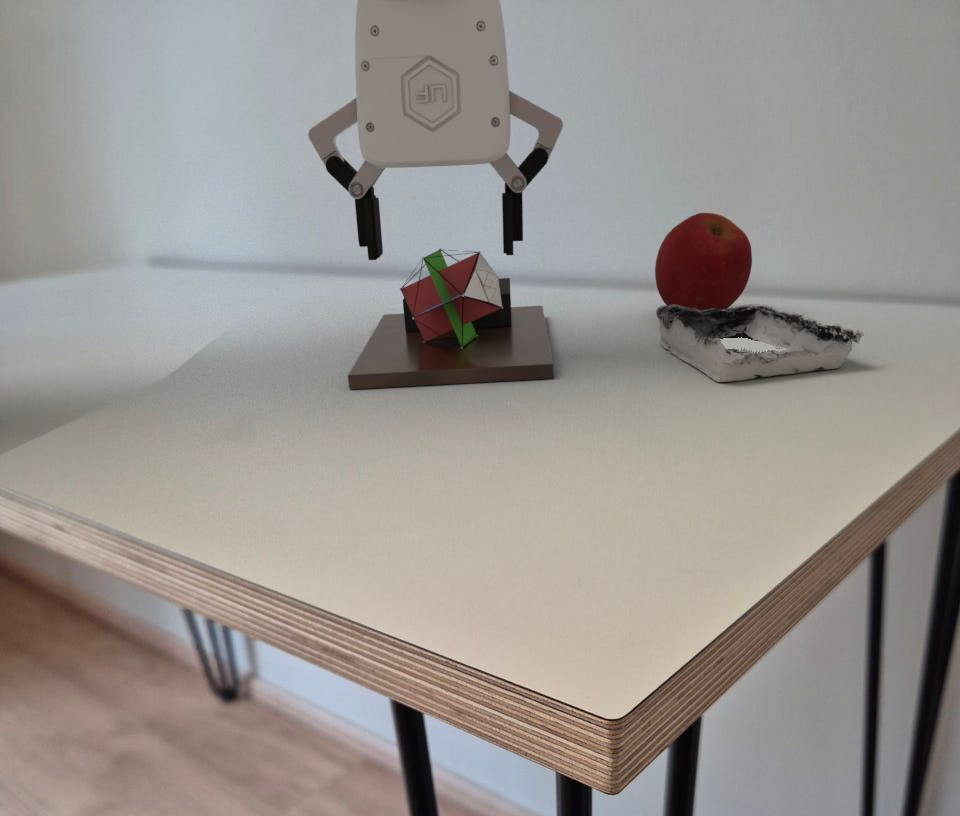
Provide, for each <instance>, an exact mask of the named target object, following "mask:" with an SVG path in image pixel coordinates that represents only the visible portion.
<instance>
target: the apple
mask: <svg viewBox="0 0 960 816" xmlns="http://www.w3.org/2000/svg"><path fill="white" fill-rule="evenodd" d="M752 254H753V253H752V246H751V242H750V239H749V237H748V235H746V232H744V231H743V229H741V228H740V227H739V226H738V225H736V224H735V223H734V222H733V221H732V220H730V219H729V218H728V217H726V216H724V215H721V214H718V213H712V212H698V213H696V214H693V215H691V216H689V217H687V218H685V219H684V220H682V221H681V222H680V223H678V224H677V225H675V226H674V227H673V228H672V229H671V230H670V231H668V233H667V234H666V236H665V237H664V238H663V240H662V243H661V244H660V246H659V249H658V251H657V254H656V258H655V259H656V260H655V266H654V274H655V275H654V278H655V279H654V280H655V284H656V287H657V292H658V295H659V296H660V299H661V300H662V301H663V303H664V304H665V305H666V306H670V305H672V304H674V305H680V306H683V307H686V308H696V309H698V310H701V311H702V310H707V309H711V308H717V309H718V308H719V309H729V308H731V306H732V305H733V304H734V303H736V301H737V300H738V299H739V298H740V297H741V295H742V294H743V293H744V290H746V287H747V284H748V282H749V280H750V276H751V271H752V264H753V255H752Z"/></svg>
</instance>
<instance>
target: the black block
mask: <svg viewBox="0 0 960 816" xmlns="http://www.w3.org/2000/svg"><path fill="white" fill-rule="evenodd" d="M499 286H500V293H501V300H502V307H503V309H501V310H500V309H499V310H500V311H499V310H496V311H494V312H492V313H490V314H487V315H485V316H483V317H480V323H479V318H478V319H476V320H474V321H471V323H472V325H473V328H478V323H479V328H482V327H483V326H484V325H485V324H486V323H487V322H488V321H489V320H490V319H491V318H492V317H493V316H494V315H495V314H496V313H497V312H498V311H499V312H498V313H497V314H496V315H495V316H494V318H493V319H492V320H491V321H490V322H489V323H488V324H487V325H485V326H484V327H483V328H489V327H506V326H511V325H512V324H511V307H512V297H511V295H512V294H511V278H510V277H504V278H503V277H502V278H499ZM402 307H403V308H402V309H403V313H404V319H405V330H406V332H418V331H419V330H418V328H417V326H416V324H415V322H414V321H415V320H413V319H412V315H411V313H410V312H411V311H409V308H408V306H407V303H406V301H405V299H404V298H403V299H402Z"/></svg>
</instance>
